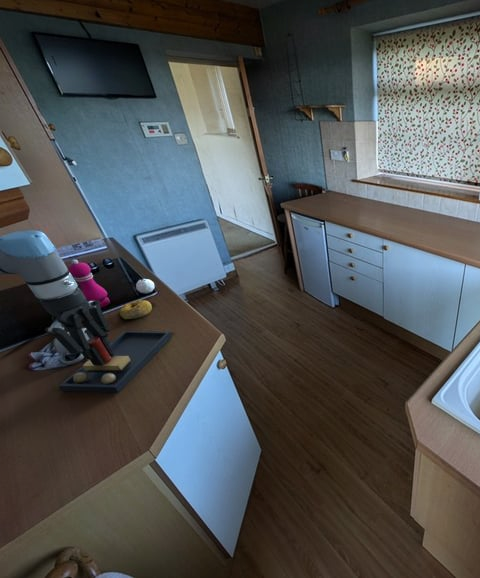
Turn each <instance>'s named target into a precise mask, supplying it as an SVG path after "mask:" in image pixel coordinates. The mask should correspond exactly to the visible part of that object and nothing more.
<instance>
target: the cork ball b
mask: <svg viewBox="0 0 480 578" xmlns="http://www.w3.org/2000/svg"><path fill="white" fill-rule="evenodd" d="M115 379H116V376H115V375H114V374H112V373H107V374H105V375H103V376H102V378H101V381H102V383H104V384H110V383H112V382H114V381H115Z"/></svg>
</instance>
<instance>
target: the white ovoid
mask: <svg viewBox="0 0 480 578" xmlns="http://www.w3.org/2000/svg"><path fill="white" fill-rule="evenodd" d="M137 279H138V281H137V282H136V284H135V287H136V290H137V291H138V292H139V293H141V294H149V293H152V292H153V291H154V289H155V287H156V286H155V283H154V281H152V280H151V279H147V278H140V277H137Z"/></svg>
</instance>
